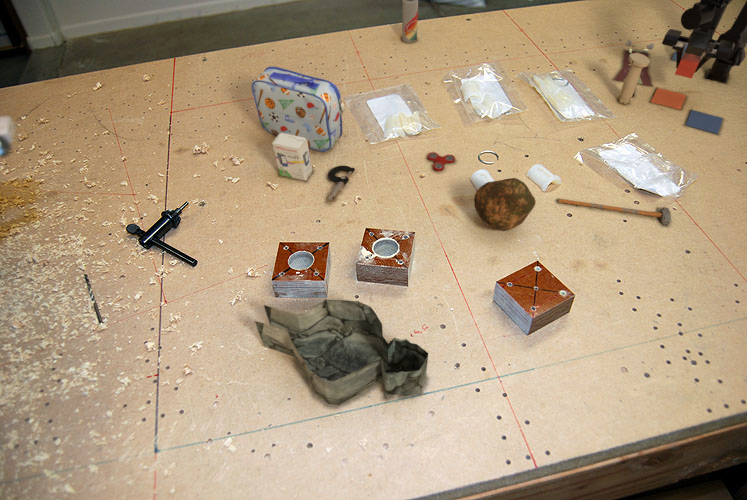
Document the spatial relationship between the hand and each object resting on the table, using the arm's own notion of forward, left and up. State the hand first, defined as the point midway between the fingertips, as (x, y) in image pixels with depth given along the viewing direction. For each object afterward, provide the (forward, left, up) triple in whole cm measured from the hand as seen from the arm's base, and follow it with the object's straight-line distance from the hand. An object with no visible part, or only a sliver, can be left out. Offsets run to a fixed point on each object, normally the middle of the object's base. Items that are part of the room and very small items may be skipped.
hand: (685, 69), depth 162 cm
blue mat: (+9, +11, -10) cm, 17 cm away
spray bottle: (+7, -94, -10) cm, 95 cm away
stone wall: (+136, -38, -10) cm, 141 cm away
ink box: (+92, -84, -10) cm, 125 cm away
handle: (+10, -13, -10) cm, 19 cm away
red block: (0, 0, -1) cm, 1 cm away
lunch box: (+78, -91, -10) cm, 120 cm away
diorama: (-12, -15, -10) cm, 22 cm away
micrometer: (+90, -71, -10) cm, 116 cm away
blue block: (-28, -3, -10) cm, 30 cm away
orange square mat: (+1, -1, -10) cm, 10 cm away
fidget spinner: (+67, -50, -10) cm, 84 cm away
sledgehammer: (+62, -2, -10) cm, 63 cm away
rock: (+82, -25, -10) cm, 86 cm away
